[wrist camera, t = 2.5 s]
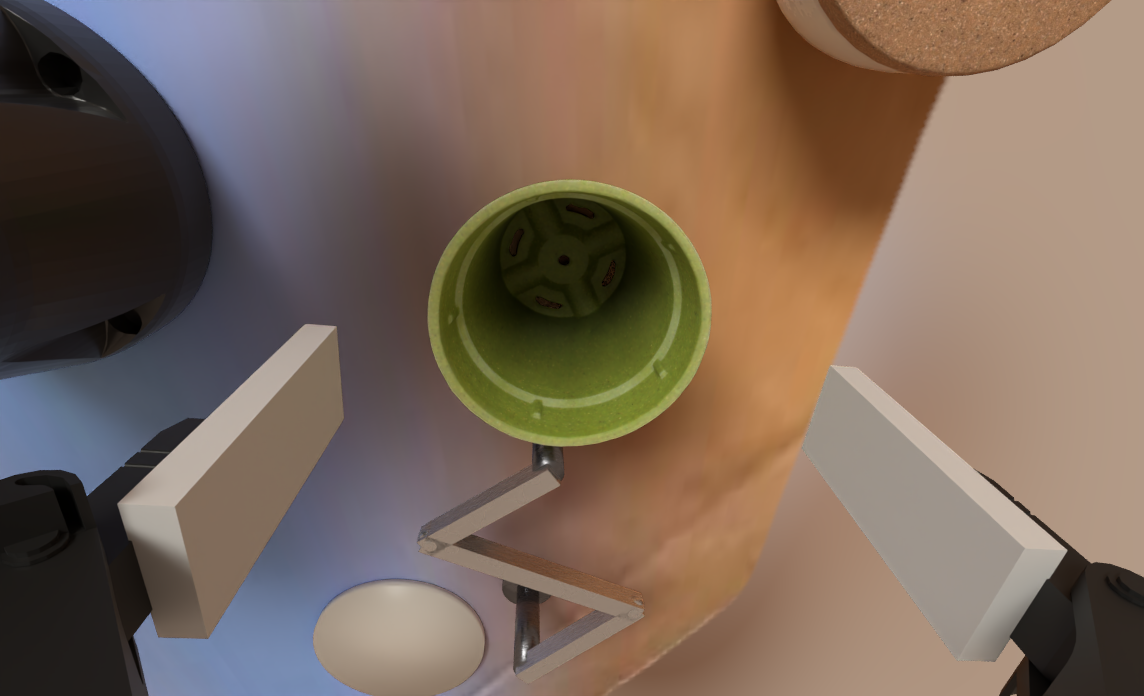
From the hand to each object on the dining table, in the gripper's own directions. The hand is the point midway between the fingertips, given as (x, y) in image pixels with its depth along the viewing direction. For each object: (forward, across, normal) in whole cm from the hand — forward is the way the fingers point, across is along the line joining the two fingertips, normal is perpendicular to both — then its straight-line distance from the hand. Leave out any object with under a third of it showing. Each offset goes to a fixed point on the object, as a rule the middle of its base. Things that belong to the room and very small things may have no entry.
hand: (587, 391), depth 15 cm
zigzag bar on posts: (+12, 0, -14) cm, 19 cm away
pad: (+12, -8, -27) cm, 31 cm away
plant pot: (+13, 0, 0) cm, 13 cm away
